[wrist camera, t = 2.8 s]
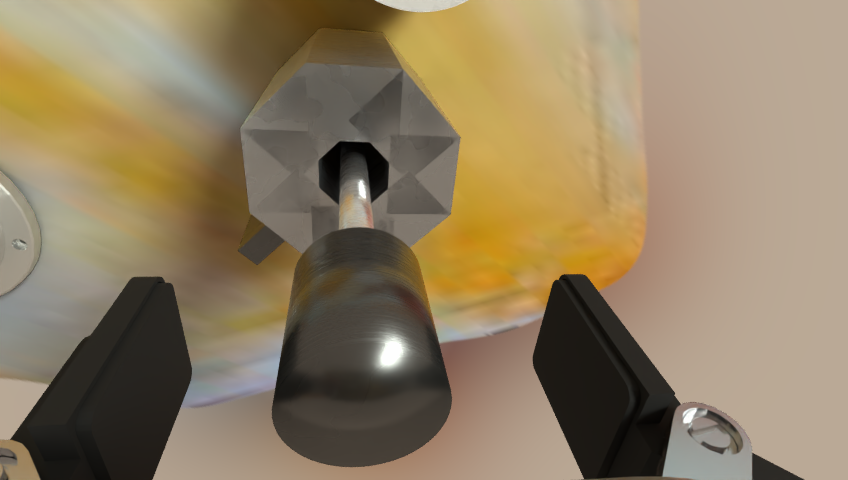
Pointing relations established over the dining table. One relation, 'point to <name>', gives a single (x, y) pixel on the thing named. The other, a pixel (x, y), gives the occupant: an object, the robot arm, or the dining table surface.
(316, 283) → the plunger
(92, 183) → the dining table surface
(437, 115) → the octagonal faceted vessel
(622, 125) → the dining table surface
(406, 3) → the light grey cylinder
